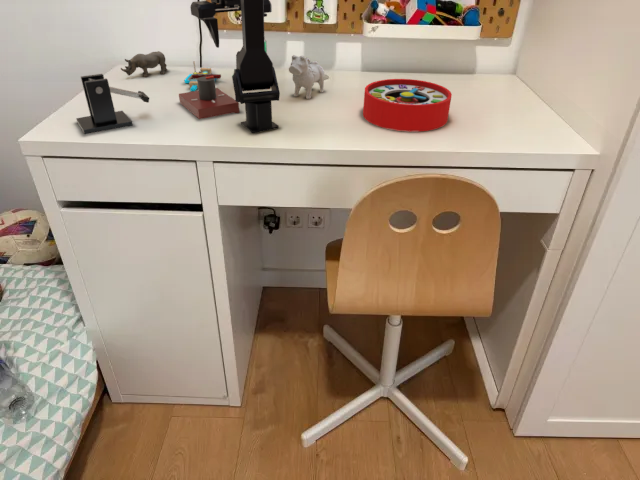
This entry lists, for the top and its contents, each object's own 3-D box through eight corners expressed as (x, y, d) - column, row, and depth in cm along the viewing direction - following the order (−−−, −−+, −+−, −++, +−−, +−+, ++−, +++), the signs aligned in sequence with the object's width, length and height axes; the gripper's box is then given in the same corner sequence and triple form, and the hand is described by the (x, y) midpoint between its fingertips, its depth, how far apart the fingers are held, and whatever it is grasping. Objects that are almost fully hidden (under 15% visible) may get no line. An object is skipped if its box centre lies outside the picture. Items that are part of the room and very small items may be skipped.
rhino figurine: (119, 77, 138) (115, 55, 135) (165, 69, 146) (162, 48, 142) (125, 81, 136) (120, 58, 132) (171, 72, 143) (168, 51, 140)
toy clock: (349, 95, 110) (385, 74, 125) (348, 120, 114) (383, 97, 128) (434, 111, 102) (463, 87, 116) (430, 138, 105) (458, 111, 120)
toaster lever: (141, 99, 113) (143, 89, 112) (148, 105, 109) (150, 95, 108) (85, 87, 105) (87, 76, 104) (90, 93, 102) (92, 82, 101)
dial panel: (239, 112, 116) (238, 101, 115) (199, 120, 112) (197, 108, 110) (217, 97, 125) (216, 86, 124) (180, 103, 121) (178, 93, 119)
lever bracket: (123, 115, 114) (113, 70, 108) (133, 126, 108) (123, 79, 102) (77, 123, 109) (64, 76, 103) (85, 135, 103) (72, 86, 98)
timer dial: (203, 101, 115) (200, 80, 112) (196, 96, 118) (194, 76, 115) (219, 98, 117) (217, 78, 114) (212, 94, 120) (210, 74, 117)
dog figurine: (284, 100, 125) (282, 56, 119) (309, 87, 134) (309, 46, 128) (301, 103, 123) (301, 59, 117) (326, 90, 132) (327, 48, 126)
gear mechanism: (227, 72, 145) (195, 71, 145) (225, 53, 142) (193, 52, 142) (213, 93, 128) (177, 92, 128) (211, 72, 125) (174, 71, 125)
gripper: (250, -31, 123) (254, 35, 132) (178, -28, 114) (187, 42, 123) (271, -27, 115) (273, 43, 124) (195, -23, 107) (203, 52, 115)
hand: (234, 45), depth 122 cm, fingers open, 9 cm apart
